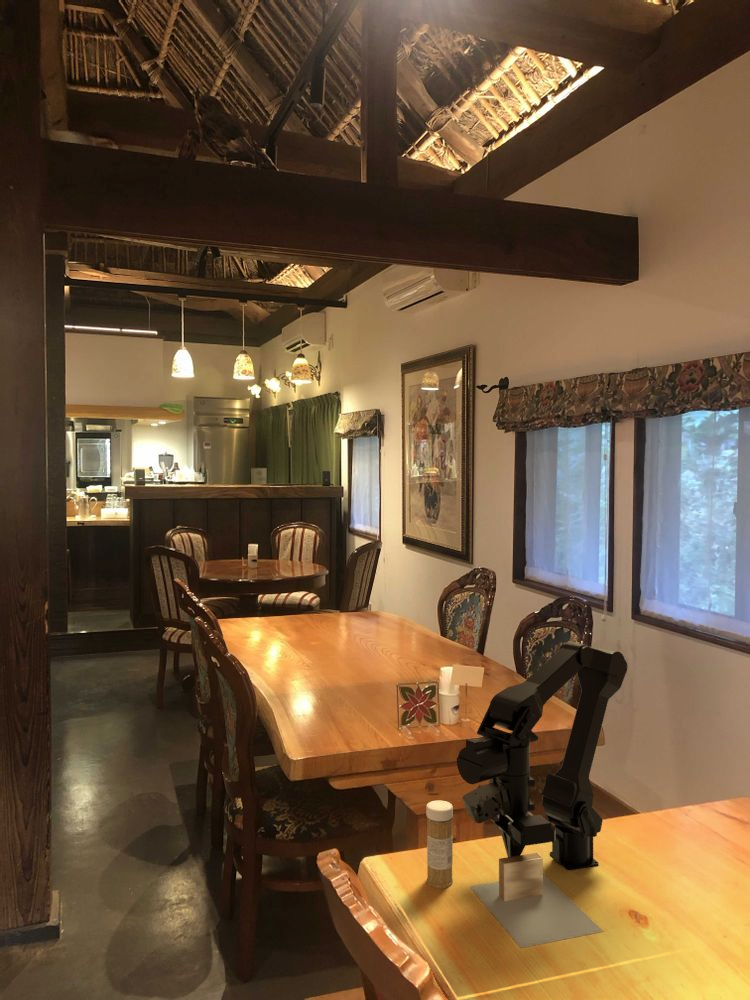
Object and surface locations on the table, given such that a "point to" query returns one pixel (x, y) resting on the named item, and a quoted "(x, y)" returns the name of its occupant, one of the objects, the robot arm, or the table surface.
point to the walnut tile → (520, 876)
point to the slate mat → (537, 915)
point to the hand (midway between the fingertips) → (512, 862)
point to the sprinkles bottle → (439, 844)
